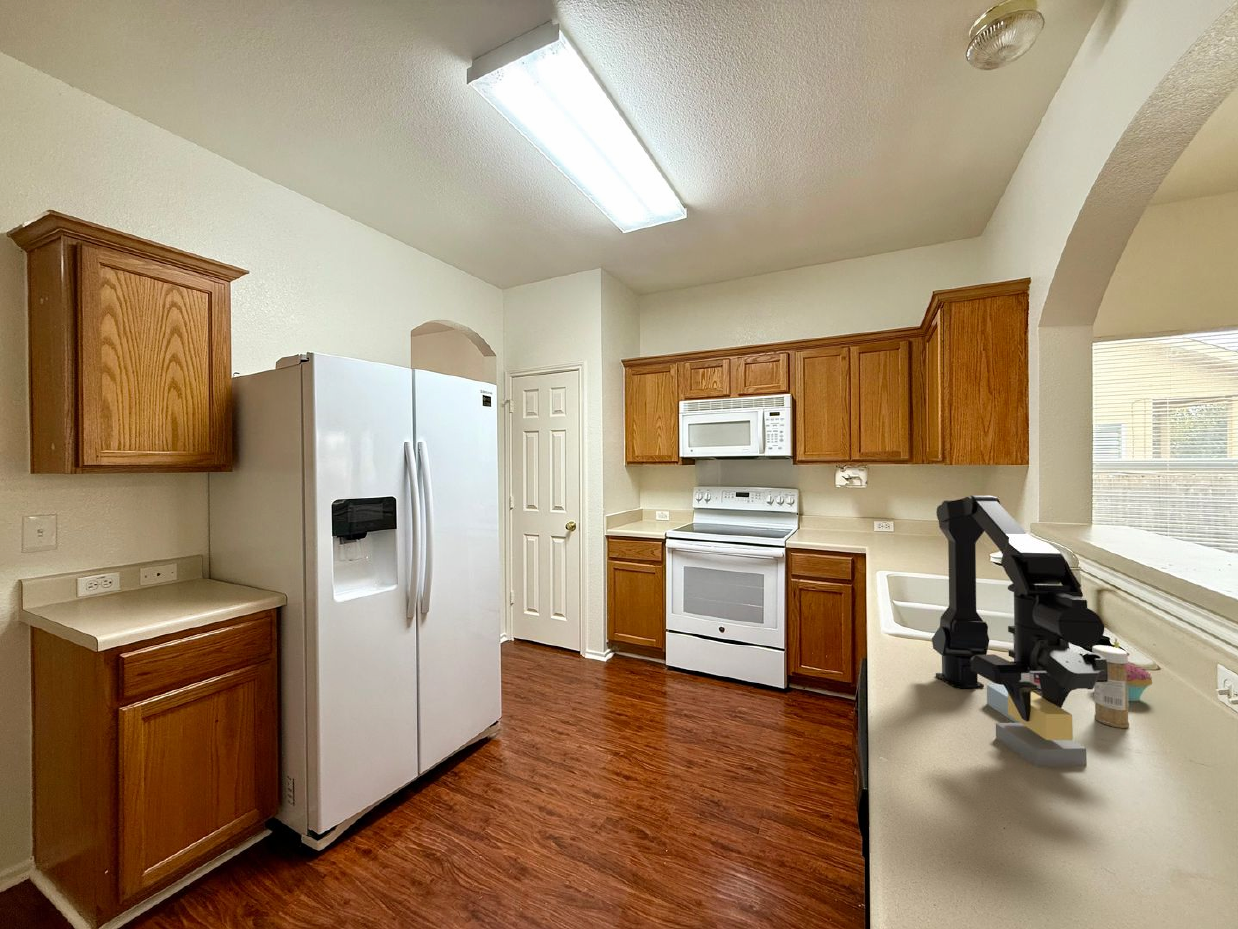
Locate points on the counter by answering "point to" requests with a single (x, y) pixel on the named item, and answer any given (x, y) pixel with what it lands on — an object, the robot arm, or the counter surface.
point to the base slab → (1040, 746)
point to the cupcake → (1135, 679)
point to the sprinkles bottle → (1112, 688)
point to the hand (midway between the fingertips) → (1038, 720)
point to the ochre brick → (1045, 719)
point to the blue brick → (999, 699)
